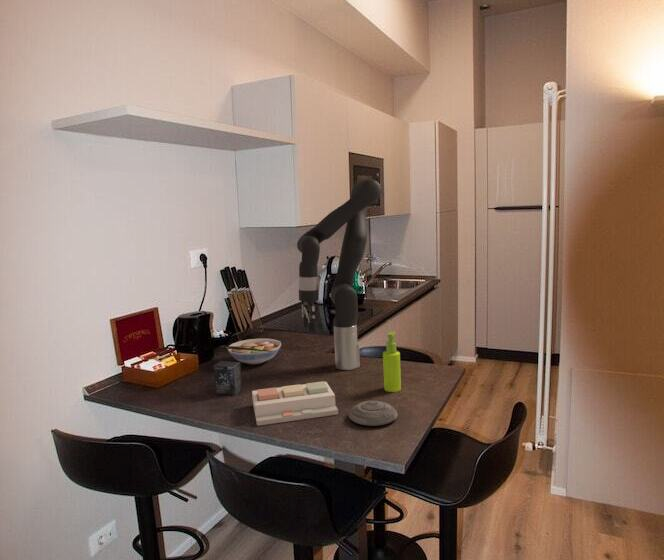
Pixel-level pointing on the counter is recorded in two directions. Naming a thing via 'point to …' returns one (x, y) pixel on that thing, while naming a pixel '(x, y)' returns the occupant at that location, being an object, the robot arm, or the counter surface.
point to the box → (227, 378)
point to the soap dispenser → (391, 366)
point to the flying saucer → (372, 413)
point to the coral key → (267, 394)
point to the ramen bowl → (253, 350)
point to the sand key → (292, 391)
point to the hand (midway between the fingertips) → (308, 329)
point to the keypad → (294, 407)
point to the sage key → (316, 388)
